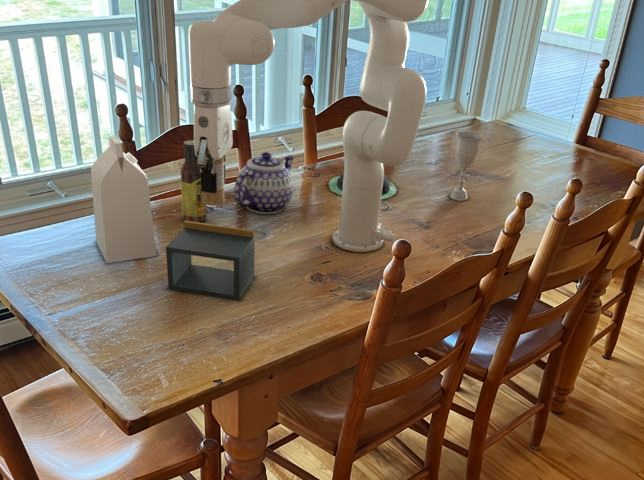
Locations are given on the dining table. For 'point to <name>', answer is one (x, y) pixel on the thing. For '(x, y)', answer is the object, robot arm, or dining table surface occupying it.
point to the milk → (121, 206)
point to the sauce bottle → (191, 186)
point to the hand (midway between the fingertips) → (213, 186)
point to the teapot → (265, 184)
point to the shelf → (212, 245)
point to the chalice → (465, 158)
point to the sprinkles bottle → (217, 197)
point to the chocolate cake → (387, 188)
